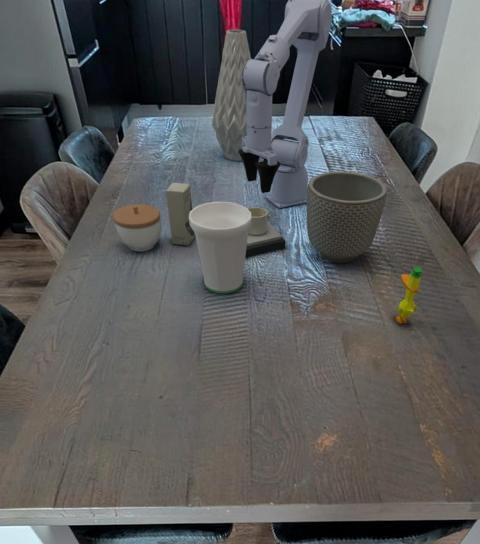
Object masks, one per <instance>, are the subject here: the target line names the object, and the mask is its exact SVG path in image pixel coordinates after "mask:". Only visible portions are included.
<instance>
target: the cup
mask: <svg viewBox="0 0 480 544" xmlns="http://www.w3.org/2000/svg"><path fill="white" fill-rule="evenodd" d="M251 221H252V217H251V212H250V211H249V210H248V207H247V206H244V205H241V204H240V203H235V202H230V201H212V202H205V203H202V204H199V205H197V206H195V207H194V208H192V211H190V213H189V223H190V227H191V228H192V230H193V231H194V233H195V239H196V244H197V250H198V255H199V259H200V264H201V269H202V274H203V280H204V286H205V288H206V289H207V290H209V291H210V292H212V293H216V294H231V293H234V292H237V291H239V290H240V289H241V288H242V286H243V285H244V283H243V282H244V272H245V264H246V258H245V256H246V246H247V237H248V231H249V229H250V228H251Z"/></svg>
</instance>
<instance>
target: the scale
mask: <svg viewBox="0 0 480 544" xmlns="http://www.w3.org/2000/svg"><path fill="white" fill-rule="evenodd" d="M286 241H287V240H286V239H285V238H283V235H282V234H281V233H280V232H278V231H277V230H276V229H275V228H274V227H273V226H272V225H271V224H269V223H268V224H267V231H266V232H265V233H264V234H262V235H257V236H255V235H250V234H248V237H247V246H246V256H245V259H246V258H250V257H254V256H258V255H262V254H267V253H270V252H275V251H279V250H282V249H283V250H284V249H286V245H287V243H286Z"/></svg>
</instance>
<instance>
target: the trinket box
mask: <svg viewBox="0 0 480 544" xmlns="http://www.w3.org/2000/svg"><path fill="white" fill-rule="evenodd" d="M112 220H113V223H114V227H115V229H116V233H117V235H118V237H119V239H120V241H121V242H122V243H123V244H124V245H126V246H127V247H128V248H129V249H130V250H132V251H135V252H146V251H149V250H152V249H153V248H154V247H155V246H156V244H157V243H158V241H159V239H160V238H161V233H162V222H161V211H160V210H159V209H158V208H157V207H155V206H154V205H150V204H145V203H135V204H128V205H127V204H126V205H125V206H121V207H119V208H117V209H115V211H114V212H113V214H112Z"/></svg>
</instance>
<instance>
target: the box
mask: <svg viewBox="0 0 480 544" xmlns="http://www.w3.org/2000/svg"><path fill="white" fill-rule="evenodd" d="M165 195H166V196H165V197H166V203H167V211H168V219H169V226H170V235H171V242H172V244H174V245H179V246H189V245H190V244H191V243H192V242H193V240H194V239H195V238H196V235H195V232H194V231H193V230H192V228H191V227H190V223H189V213H190V211H192V210H193V203H192V193H191V184H189V183H182V182H172V183H171V184H170V185H169V186H168V187H167V188H166V189H165Z"/></svg>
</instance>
